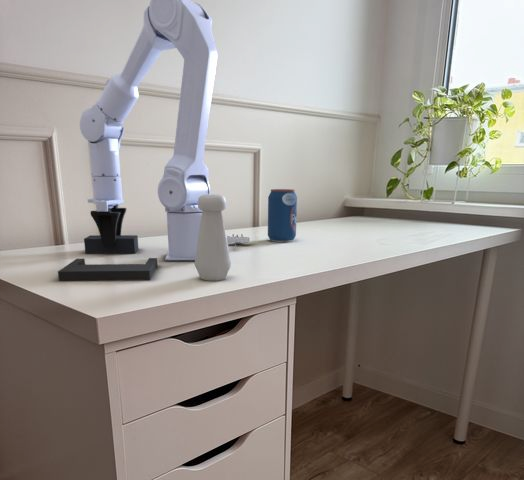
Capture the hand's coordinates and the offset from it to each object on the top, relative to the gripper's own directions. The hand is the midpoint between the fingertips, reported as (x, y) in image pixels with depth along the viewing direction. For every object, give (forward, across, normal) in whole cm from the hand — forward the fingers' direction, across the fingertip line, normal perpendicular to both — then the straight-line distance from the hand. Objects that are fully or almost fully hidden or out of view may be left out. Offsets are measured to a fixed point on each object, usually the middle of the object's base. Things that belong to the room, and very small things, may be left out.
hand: (112, 244), depth 108 cm
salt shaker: (+2, +29, +21) cm, 36 cm away
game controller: (+2, -6, +26) cm, 27 cm away
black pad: (+1, +24, +4) cm, 24 cm away
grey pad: (+1, 0, 0) cm, 1 cm away
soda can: (+2, -16, +38) cm, 41 cm away
